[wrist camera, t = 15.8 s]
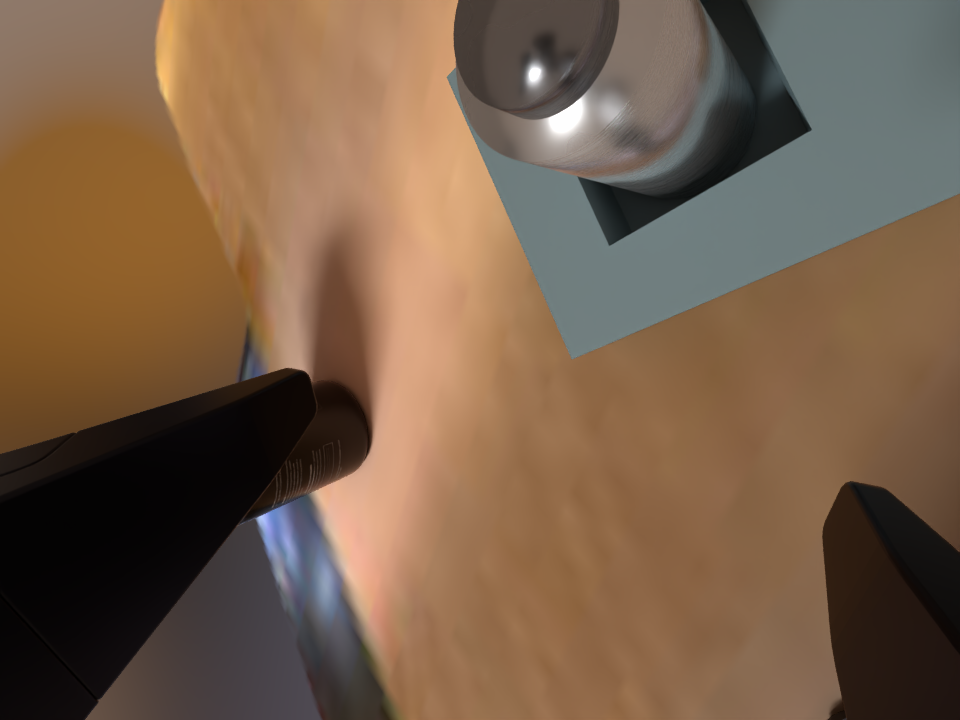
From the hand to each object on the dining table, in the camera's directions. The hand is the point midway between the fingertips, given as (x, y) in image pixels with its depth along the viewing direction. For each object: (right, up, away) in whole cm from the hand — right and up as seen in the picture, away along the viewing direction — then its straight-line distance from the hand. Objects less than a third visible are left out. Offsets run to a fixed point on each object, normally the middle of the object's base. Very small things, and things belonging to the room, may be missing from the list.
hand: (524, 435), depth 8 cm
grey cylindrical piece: (+6, +9, +9) cm, 14 cm away
